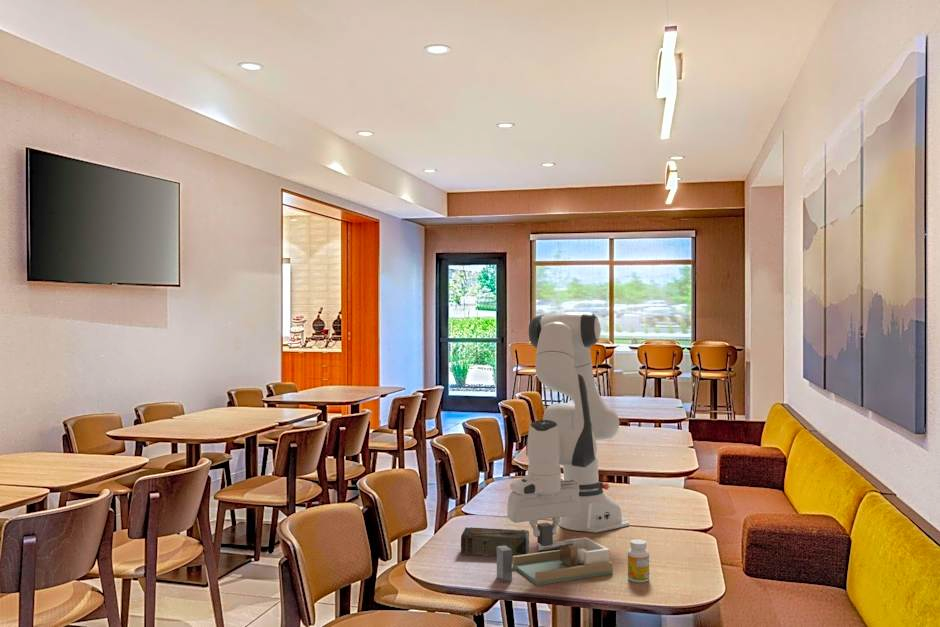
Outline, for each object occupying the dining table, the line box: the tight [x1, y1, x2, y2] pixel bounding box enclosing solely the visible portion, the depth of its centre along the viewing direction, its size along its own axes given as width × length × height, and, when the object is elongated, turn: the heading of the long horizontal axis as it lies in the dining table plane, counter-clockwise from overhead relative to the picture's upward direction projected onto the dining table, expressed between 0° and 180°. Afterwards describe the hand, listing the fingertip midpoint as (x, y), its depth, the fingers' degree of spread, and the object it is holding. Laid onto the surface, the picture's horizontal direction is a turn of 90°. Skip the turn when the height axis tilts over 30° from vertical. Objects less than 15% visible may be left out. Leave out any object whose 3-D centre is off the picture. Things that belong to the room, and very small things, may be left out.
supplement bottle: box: [627, 538, 650, 583], centre depth 198 cm, size 5×5×10 cm
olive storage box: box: [460, 527, 530, 558], centre depth 221 cm, size 8×19×7 cm, turn 81°
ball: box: [577, 549, 587, 564], centre depth 208 cm, size 4×4×4 cm
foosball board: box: [512, 536, 614, 586], centre depth 206 cm, size 22×15×6 cm
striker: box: [536, 522, 578, 567], centre depth 205 cm, size 10×6×11 cm, turn 111°
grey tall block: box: [496, 545, 513, 583], centre depth 199 cm, size 2×4×8 cm, turn 21°
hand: (544, 535), depth 204 cm, fingers closed on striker, 3 cm apart
